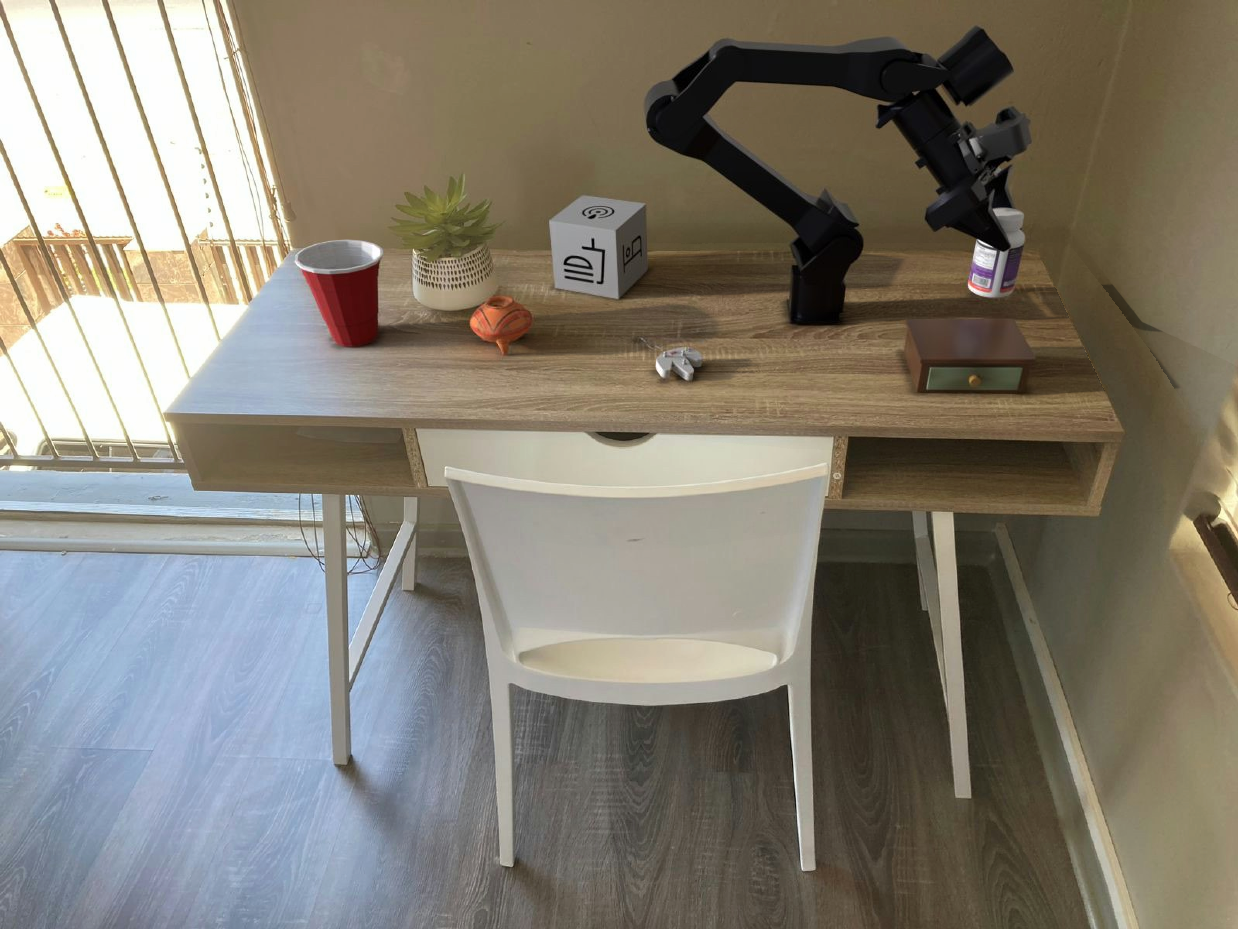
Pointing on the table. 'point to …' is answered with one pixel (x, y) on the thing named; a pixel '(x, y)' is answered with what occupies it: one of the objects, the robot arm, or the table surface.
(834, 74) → the robot arm
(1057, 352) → the table surface
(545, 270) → the table surface
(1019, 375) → the cabinet
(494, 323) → the pot
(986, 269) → the pill bottle
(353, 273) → the plastic cup
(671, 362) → the game controller
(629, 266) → the icon cube
